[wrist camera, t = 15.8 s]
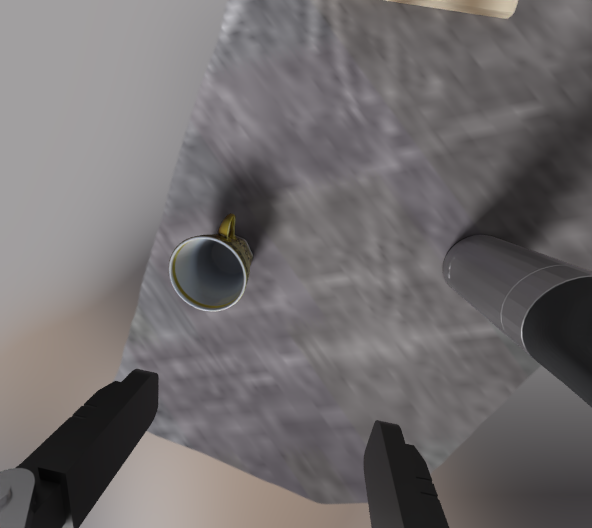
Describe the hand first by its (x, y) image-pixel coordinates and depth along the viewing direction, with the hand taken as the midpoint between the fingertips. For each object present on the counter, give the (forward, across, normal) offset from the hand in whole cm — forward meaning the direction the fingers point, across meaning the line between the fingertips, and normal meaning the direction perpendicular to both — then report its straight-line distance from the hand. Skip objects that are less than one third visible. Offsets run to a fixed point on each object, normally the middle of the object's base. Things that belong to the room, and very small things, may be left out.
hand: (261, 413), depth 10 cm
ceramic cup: (+33, +11, +4) cm, 35 cm away
